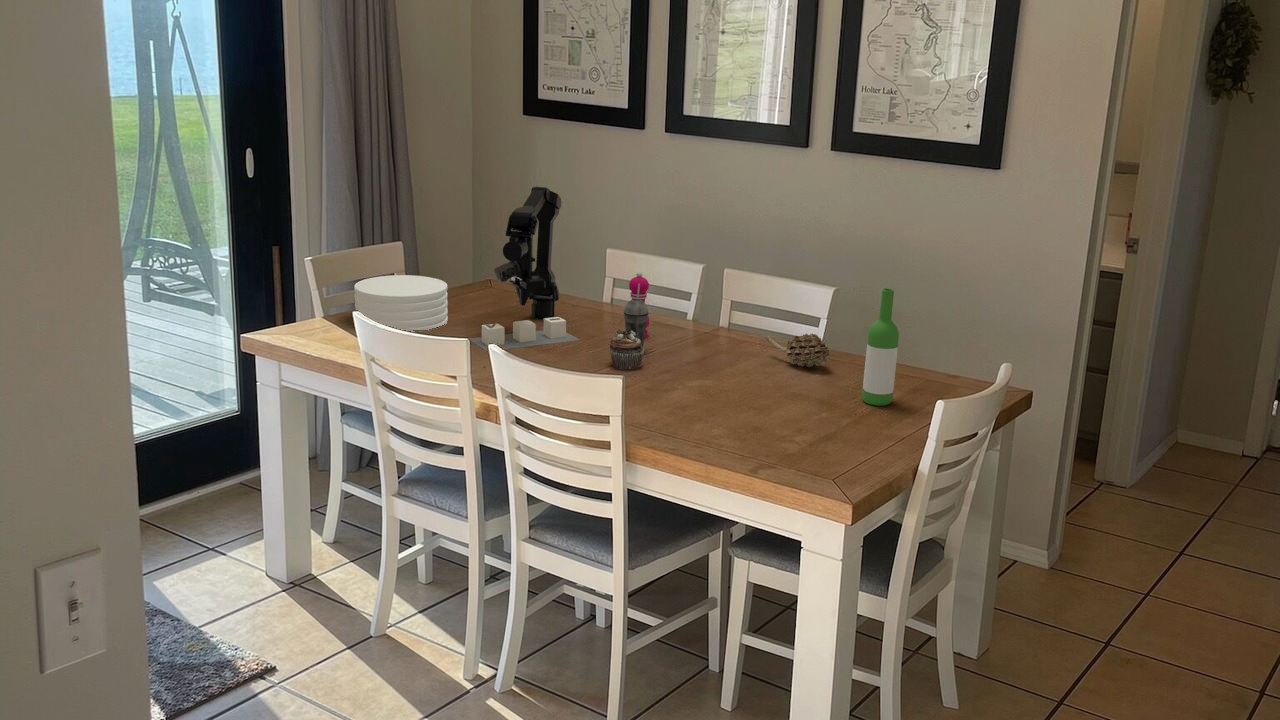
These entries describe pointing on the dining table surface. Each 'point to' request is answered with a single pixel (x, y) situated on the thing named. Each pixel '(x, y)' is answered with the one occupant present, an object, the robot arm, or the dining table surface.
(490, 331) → the block seven
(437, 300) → the plate stack
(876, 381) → the wine bottle
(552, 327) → the block one
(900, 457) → the dining table surface
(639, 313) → the beverage cup
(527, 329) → the plain block
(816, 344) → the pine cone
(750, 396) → the dining table surface
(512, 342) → the mat
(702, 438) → the dining table surface
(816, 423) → the dining table surface
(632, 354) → the cupcake
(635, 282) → the pepper mill
